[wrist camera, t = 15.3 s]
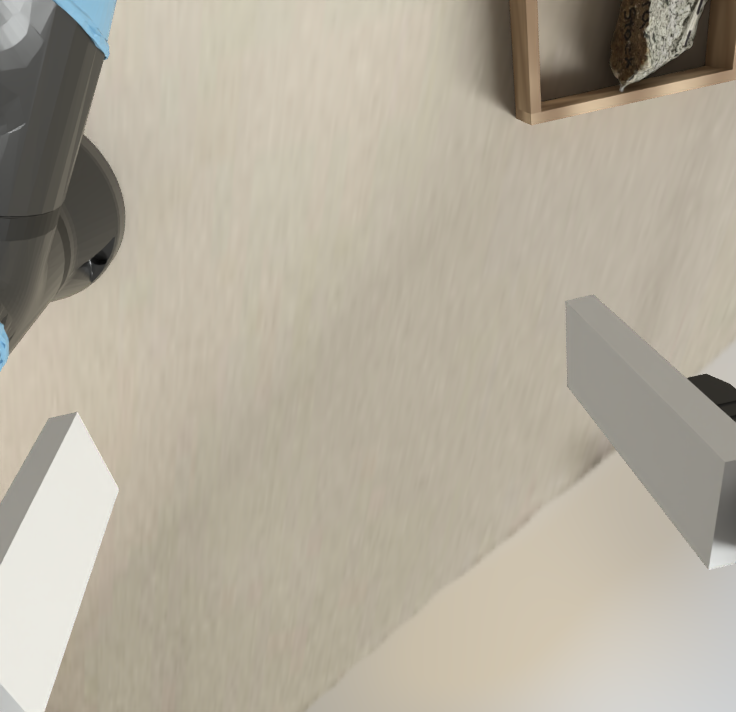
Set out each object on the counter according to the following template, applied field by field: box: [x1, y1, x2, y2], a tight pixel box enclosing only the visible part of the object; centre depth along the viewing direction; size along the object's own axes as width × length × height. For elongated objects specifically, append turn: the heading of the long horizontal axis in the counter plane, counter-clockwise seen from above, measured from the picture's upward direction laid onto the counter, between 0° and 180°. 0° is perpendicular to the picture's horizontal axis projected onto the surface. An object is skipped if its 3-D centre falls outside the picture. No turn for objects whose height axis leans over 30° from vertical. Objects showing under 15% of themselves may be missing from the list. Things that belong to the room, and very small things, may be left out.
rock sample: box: [609, 0, 708, 93], centre depth 45 cm, size 10×8×9 cm
